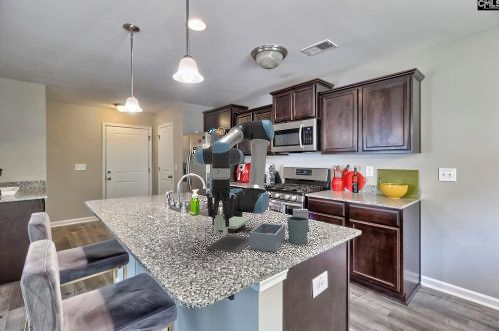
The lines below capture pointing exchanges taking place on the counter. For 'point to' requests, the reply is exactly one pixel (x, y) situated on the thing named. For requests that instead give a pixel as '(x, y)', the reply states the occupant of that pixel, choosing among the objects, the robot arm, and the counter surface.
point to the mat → (230, 243)
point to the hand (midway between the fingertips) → (220, 233)
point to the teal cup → (297, 229)
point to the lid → (230, 222)
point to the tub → (267, 237)
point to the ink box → (301, 214)
